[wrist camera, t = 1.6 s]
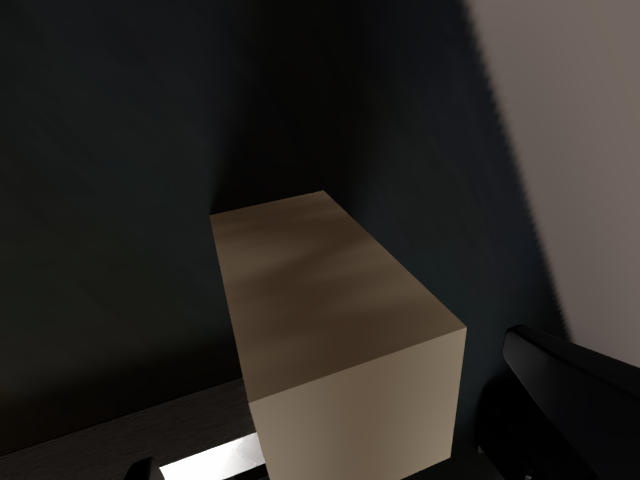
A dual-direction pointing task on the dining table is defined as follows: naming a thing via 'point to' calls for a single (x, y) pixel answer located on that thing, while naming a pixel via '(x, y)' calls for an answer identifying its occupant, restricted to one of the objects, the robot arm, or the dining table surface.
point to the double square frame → (153, 442)
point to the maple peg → (336, 344)
